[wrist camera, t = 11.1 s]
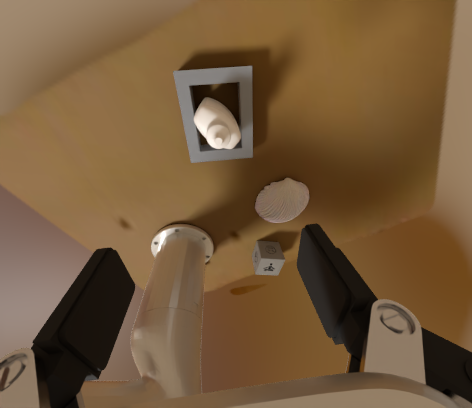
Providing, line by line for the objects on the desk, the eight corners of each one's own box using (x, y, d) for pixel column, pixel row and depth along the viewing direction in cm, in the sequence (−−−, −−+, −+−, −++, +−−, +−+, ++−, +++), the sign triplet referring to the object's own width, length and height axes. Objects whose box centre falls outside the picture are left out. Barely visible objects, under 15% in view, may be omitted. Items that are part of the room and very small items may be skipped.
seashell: (323, 181, 32) (313, 234, 36) (308, 173, 37) (300, 220, 41) (262, 181, 31) (258, 236, 35) (255, 173, 36) (252, 222, 40)
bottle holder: (249, 150, 31) (252, 157, 29) (193, 155, 31) (191, 162, 28) (248, 66, 25) (252, 65, 23) (177, 71, 25) (173, 71, 22)
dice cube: (251, 255, 46) (255, 274, 41) (256, 240, 43) (261, 258, 39) (272, 257, 46) (277, 275, 42) (278, 241, 44) (285, 259, 40)
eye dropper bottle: (223, 88, 26) (228, 99, 16) (239, 128, 29) (250, 159, 19) (194, 102, 27) (181, 121, 17) (212, 140, 30) (210, 175, 20)
